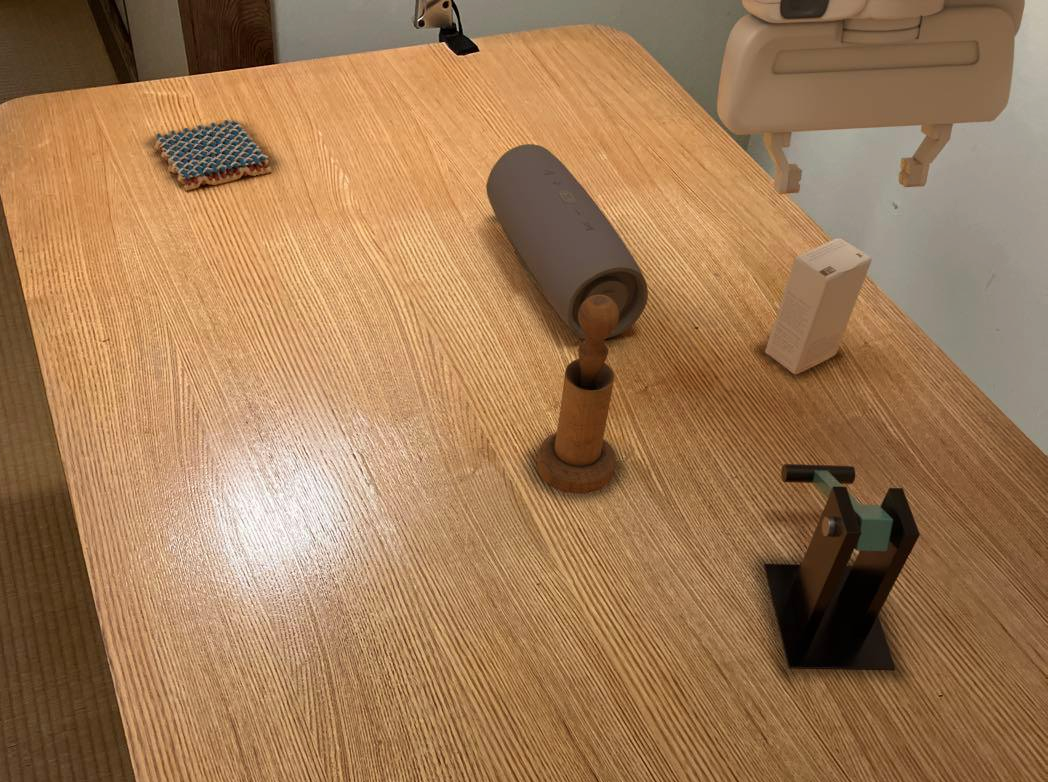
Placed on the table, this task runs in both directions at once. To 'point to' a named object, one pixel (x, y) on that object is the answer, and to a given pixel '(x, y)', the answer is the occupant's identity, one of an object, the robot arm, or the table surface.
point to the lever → (869, 517)
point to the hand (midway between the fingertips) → (848, 188)
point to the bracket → (841, 589)
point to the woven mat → (212, 155)
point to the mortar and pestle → (584, 409)
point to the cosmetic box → (817, 305)
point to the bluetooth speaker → (563, 237)
